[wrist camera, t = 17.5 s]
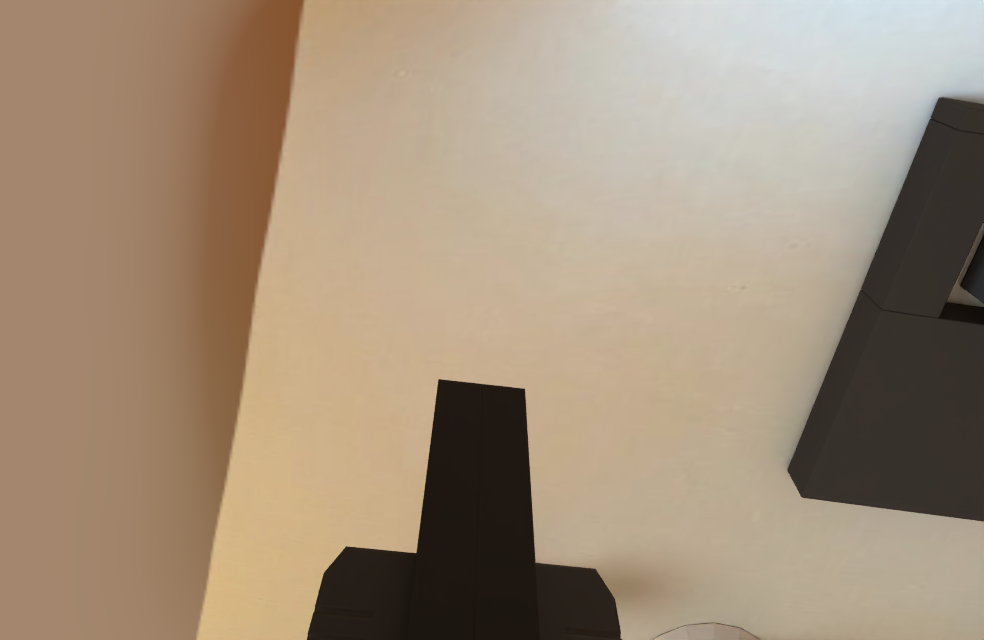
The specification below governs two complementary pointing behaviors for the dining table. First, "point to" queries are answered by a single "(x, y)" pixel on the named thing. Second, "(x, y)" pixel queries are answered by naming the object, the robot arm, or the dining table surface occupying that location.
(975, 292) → the dark grey block
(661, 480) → the dining table surface
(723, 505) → the dining table surface
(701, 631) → the french press
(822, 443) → the base pad
